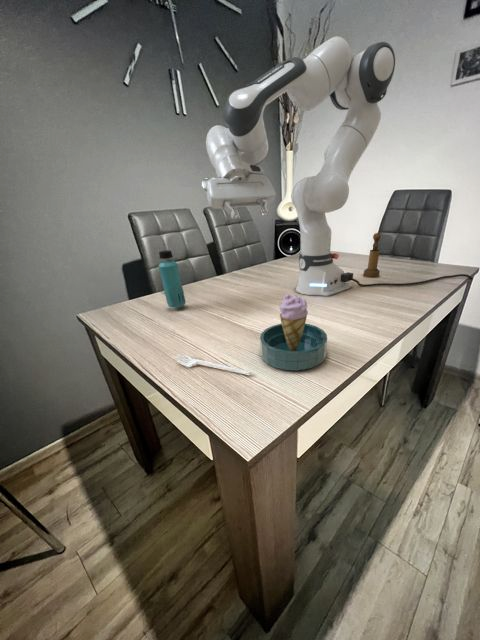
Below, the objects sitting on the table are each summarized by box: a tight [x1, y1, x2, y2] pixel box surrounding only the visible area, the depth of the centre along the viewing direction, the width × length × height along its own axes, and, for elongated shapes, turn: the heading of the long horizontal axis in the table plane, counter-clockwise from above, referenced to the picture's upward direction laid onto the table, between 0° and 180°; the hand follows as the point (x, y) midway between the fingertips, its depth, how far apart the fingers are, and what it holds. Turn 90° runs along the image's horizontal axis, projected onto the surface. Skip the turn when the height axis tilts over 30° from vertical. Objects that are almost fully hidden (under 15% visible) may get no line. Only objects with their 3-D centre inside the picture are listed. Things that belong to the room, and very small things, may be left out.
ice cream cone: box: [279, 293, 309, 351], centre depth 63 cm, size 7×6×15 cm
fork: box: [172, 351, 252, 376], centre depth 63 cm, size 3×20×2 cm, turn 66°
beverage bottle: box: [158, 249, 186, 308], centre depth 94 cm, size 6×7×20 cm
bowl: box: [259, 323, 328, 371], centre depth 65 cm, size 16×16×5 cm
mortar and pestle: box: [363, 232, 382, 279], centre depth 119 cm, size 7×6×18 cm
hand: (250, 215), depth 77 cm, fingers open, 8 cm apart
